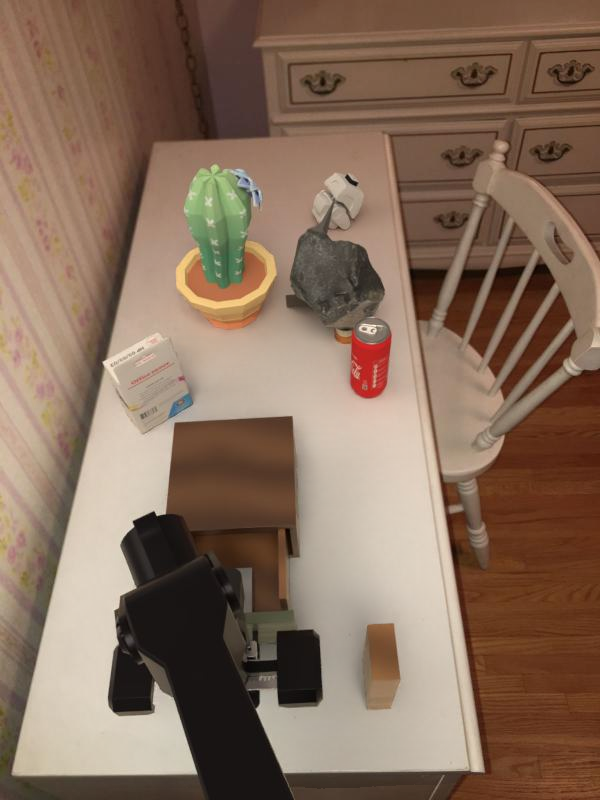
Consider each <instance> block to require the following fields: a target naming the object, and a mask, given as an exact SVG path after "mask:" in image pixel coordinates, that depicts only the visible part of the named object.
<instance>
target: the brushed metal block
mask: <svg viewBox="0 0 600 800" xmlns="http://www.w3.org/2000/svg"><path fill="white" fill-rule="evenodd" d="M235 569H238V570H239V571H240V572H241V575H242V582H243V588H244V594H245V600H244V613H248V612H255V575H254V571H253V568H252V567H248V568H235Z"/></svg>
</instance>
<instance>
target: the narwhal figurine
mask: <svg viewBox="0 0 600 800" xmlns="http://www.w3.org/2000/svg"><path fill="white" fill-rule="evenodd" d="M335 198H336V197H335ZM334 202H335V199H334V201H333V203H332V204H331V206H330V208H329V209H328V211H327V213H326V214H325V216H324V218H323V220H322V221H321V222H320V223H319V224H318V223H317V225H315V226H312V227H309V228H307V229H306V230H305V232H304V233H303V234H301V235H300V236H299V237H298V240H297V245H296V249H295V253H294V258H293V262H292V266H291V269H290V273H289V281H290V288H291V290H292V291H293V294H285V303H286V305H285V306H286V308H311V310H312V311H313V312H314V314H315V315H316V316H317V317H318V318H319V320H320V321H321V322H322V324H323V326H324V327H327V328H334V339H335V340H336V342H338V343H341V344H344V345H347V344H351V340H352V330H353V328H354V326H355V324H356V323H357V322H358V321H359V320H361V319H363V318H366V317H376V313H377V311H378V309H379V307H380V305H381V303H382V302H383V300H384V298H385V296H386V295H385V294H386V293H385V292H386V289H385V287H384V284H383V281H382V278H381V276H380V275H379V274H378V272H377V271H376V270H375V268H374V267H373V265H372V263H371V261H370V258H369V254H368V251H367V249H366V248H365V246H363V245H361V244H359V243H354V242H352V241H350V240H343V239H338V240H333V239H331V237H330V236H329V235H328V232H329V229H330V228H329V224H330V219H331V215H332V211H333V206H334Z"/></svg>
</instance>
